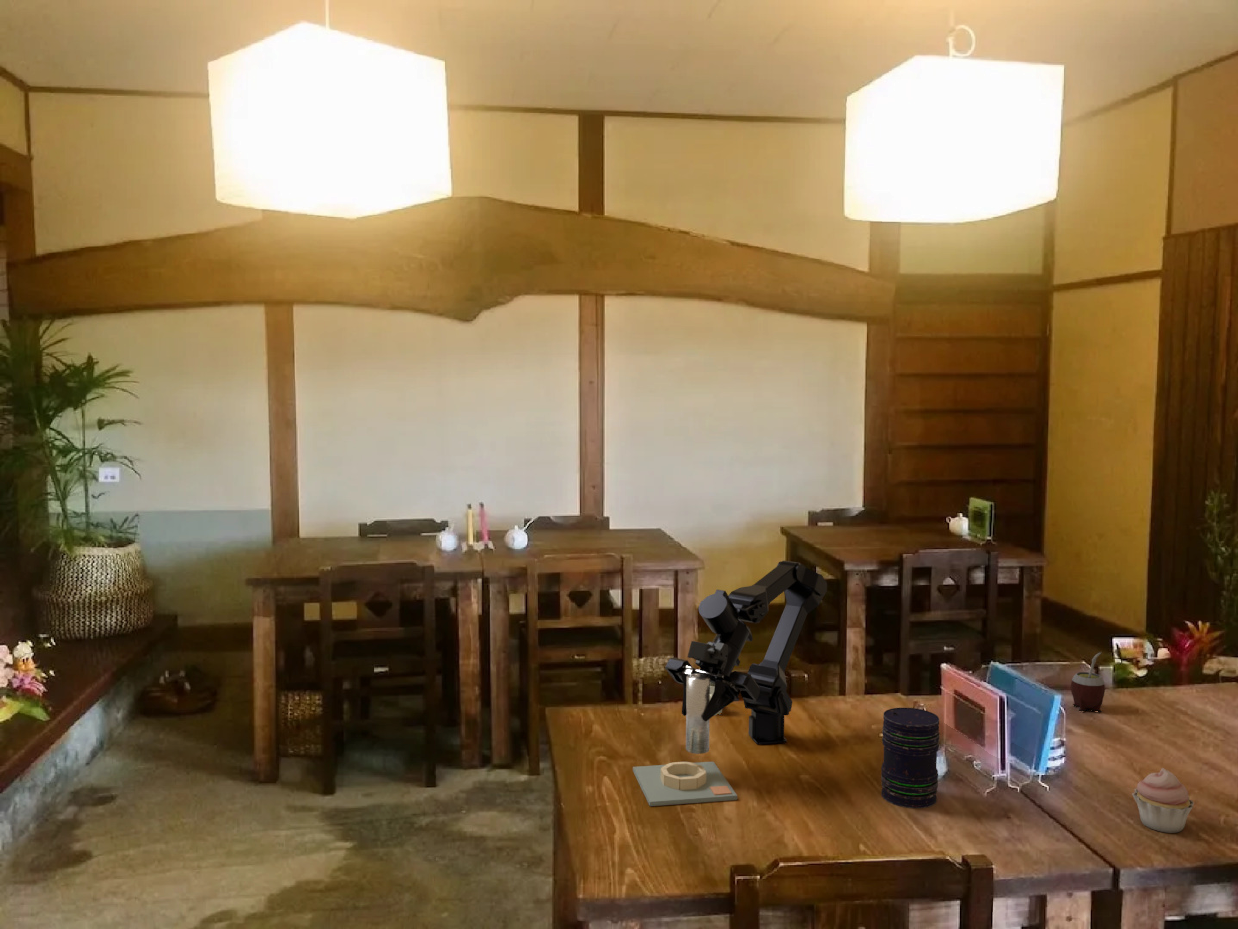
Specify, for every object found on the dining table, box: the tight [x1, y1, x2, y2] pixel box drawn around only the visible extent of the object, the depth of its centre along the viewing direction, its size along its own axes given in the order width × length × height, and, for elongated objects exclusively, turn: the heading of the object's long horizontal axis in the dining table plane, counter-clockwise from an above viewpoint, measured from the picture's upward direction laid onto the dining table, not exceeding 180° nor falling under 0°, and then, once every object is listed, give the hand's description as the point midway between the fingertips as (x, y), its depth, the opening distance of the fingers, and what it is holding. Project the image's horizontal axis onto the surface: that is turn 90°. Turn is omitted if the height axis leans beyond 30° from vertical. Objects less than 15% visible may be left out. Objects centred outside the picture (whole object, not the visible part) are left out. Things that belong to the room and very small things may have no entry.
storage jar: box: [880, 707, 940, 809], centre depth 180 cm, size 10×10×15 cm
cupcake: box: [1131, 767, 1195, 834], centre depth 169 cm, size 9×9×10 cm
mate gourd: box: [1070, 651, 1106, 713], centre depth 227 cm, size 8×8×15 cm
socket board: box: [632, 761, 738, 807], centre depth 185 cm, size 16×16×3 cm
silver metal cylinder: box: [685, 674, 711, 755], centre depth 188 cm, size 4×4×14 cm
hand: (693, 717), depth 187 cm, fingers closed on silver metal cylinder, 4 cm apart
